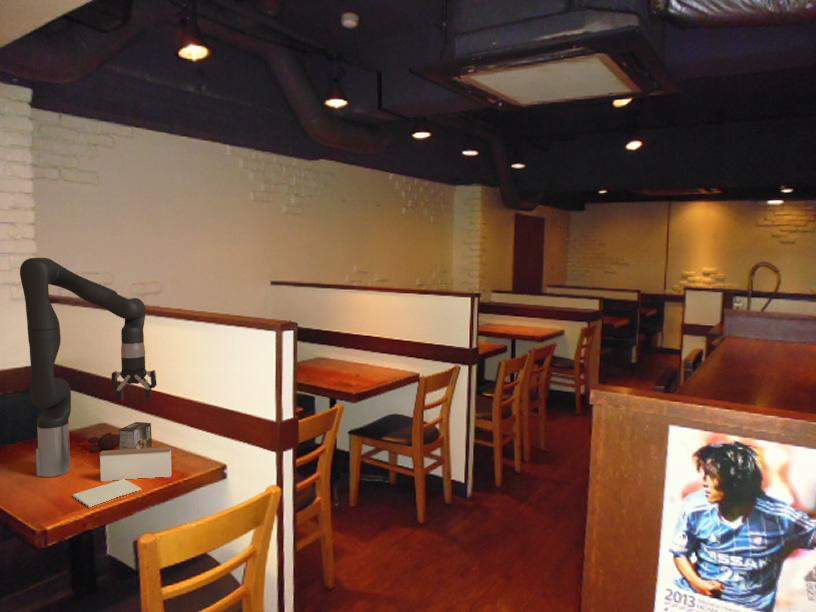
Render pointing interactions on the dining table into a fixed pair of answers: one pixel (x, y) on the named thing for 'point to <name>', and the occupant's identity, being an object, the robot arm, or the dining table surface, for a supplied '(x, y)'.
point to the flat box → (135, 463)
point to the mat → (105, 492)
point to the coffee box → (135, 436)
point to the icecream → (105, 442)
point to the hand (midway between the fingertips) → (134, 400)
